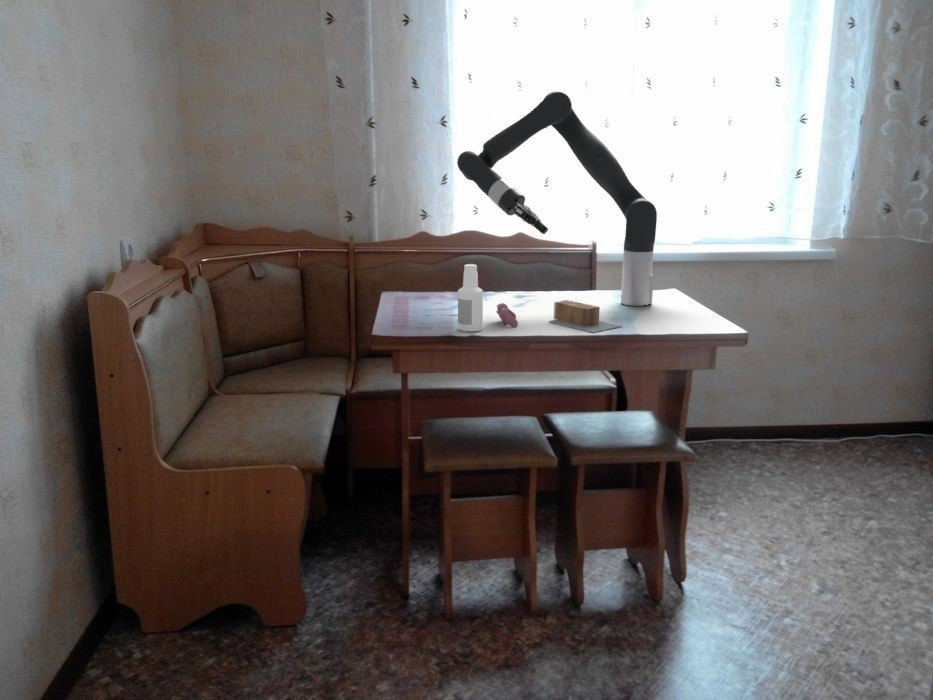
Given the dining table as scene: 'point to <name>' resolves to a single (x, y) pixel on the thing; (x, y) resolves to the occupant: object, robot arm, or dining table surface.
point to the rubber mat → (593, 328)
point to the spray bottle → (470, 301)
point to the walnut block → (576, 313)
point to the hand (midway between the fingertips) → (545, 231)
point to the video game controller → (506, 315)
